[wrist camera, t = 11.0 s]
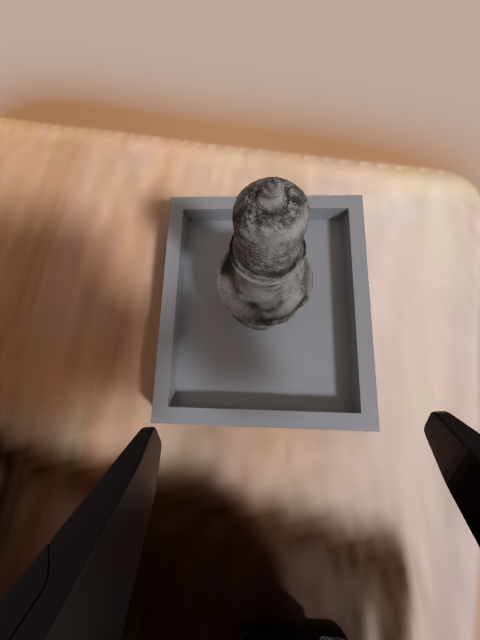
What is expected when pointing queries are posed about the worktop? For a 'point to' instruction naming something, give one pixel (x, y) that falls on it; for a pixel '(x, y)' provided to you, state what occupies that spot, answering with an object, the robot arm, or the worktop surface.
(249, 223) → the grey tall rounded piece
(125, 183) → the worktop surface
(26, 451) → the worktop surface
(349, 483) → the worktop surface
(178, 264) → the grey tray
